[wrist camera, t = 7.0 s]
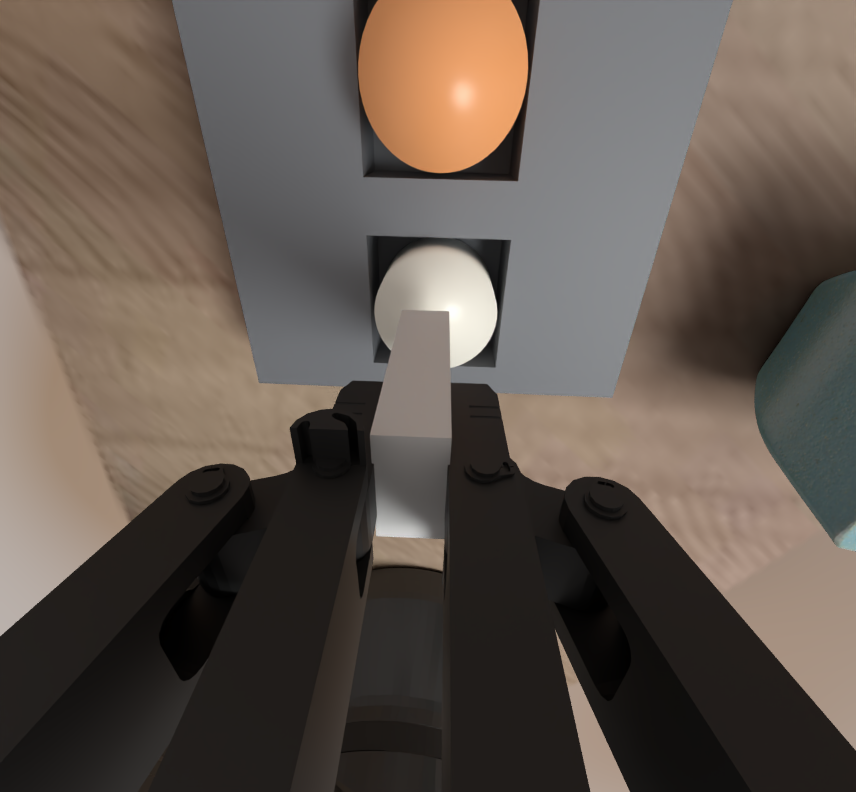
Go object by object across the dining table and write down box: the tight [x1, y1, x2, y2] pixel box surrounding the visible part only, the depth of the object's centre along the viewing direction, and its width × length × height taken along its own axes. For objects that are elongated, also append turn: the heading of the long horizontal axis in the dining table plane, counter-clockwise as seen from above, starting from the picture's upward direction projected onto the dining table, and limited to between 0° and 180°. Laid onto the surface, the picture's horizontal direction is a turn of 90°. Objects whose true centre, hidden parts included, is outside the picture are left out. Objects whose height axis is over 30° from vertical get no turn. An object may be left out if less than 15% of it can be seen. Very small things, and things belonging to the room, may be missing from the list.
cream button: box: [374, 237, 497, 368], centre depth 16 cm, size 4×4×3 cm
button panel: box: [172, 0, 733, 398], centre depth 14 cm, size 21×15×4 cm
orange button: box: [358, 0, 528, 173], centre depth 12 cm, size 4×4×3 cm
